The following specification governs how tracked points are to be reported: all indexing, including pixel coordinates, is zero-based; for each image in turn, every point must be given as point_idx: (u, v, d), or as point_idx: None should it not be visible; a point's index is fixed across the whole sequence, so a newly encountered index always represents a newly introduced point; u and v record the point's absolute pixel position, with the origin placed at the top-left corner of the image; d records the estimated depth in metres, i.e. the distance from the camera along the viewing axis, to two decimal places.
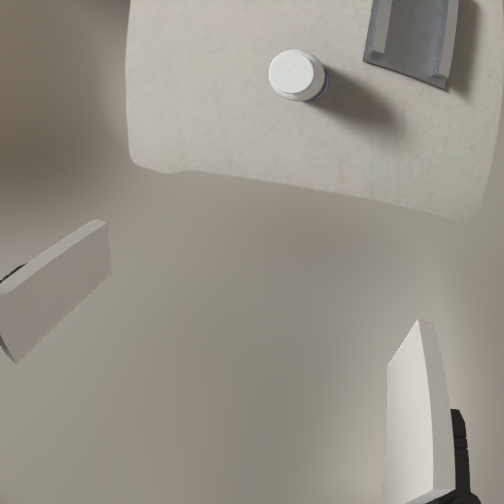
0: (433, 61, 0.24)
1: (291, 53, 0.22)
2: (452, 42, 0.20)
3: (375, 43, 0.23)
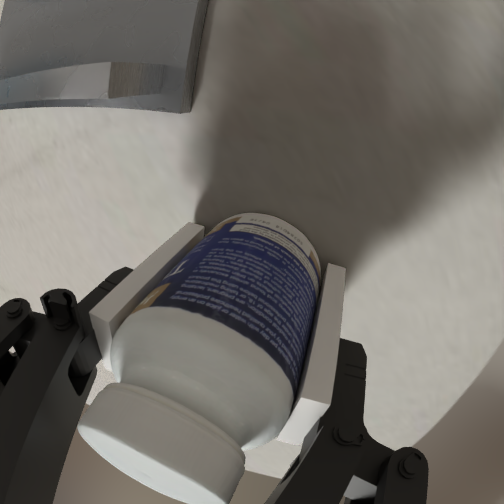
0: None
1: (89, 444, 0.06)
2: None
3: (90, 93, 0.08)
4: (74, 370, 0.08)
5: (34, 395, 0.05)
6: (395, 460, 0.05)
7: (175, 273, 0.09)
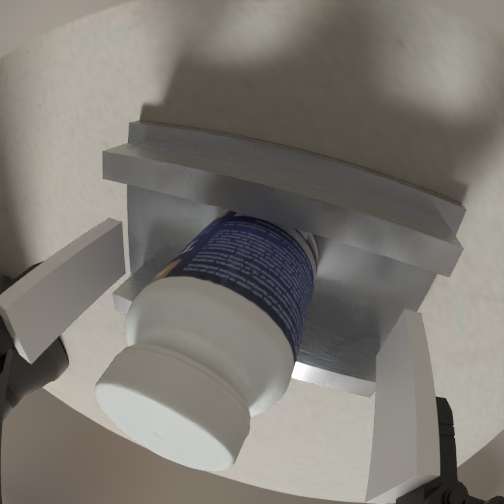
0: None
1: (103, 408, 0.07)
2: (347, 215, 0.09)
3: (356, 392, 0.13)
4: None
5: None
6: None
7: (186, 251, 0.10)
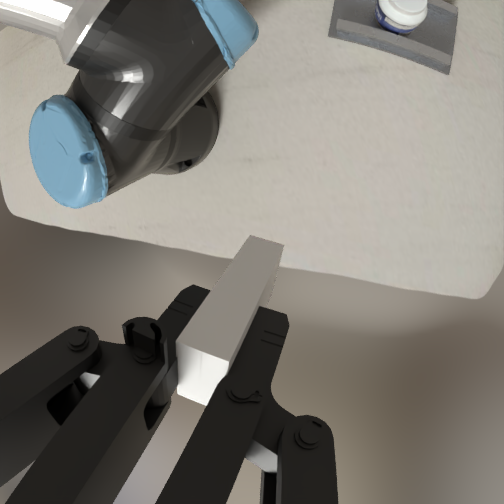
0: (437, 14, 0.23)
1: None
2: None
3: (444, 60, 0.24)
4: (147, 402, 0.07)
5: (103, 435, 0.05)
6: (290, 430, 0.06)
7: None
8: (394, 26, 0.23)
